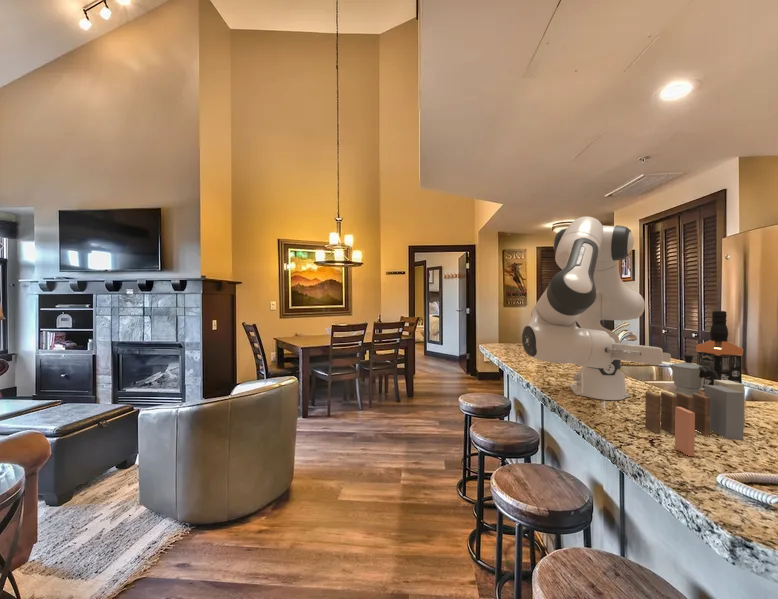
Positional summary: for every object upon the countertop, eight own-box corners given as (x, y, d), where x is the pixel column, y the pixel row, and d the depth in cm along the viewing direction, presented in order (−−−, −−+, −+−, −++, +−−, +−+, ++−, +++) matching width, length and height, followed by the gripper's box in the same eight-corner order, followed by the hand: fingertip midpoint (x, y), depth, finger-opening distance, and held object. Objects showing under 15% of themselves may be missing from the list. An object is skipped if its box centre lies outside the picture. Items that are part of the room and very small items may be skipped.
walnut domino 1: (655, 433, 100) (655, 396, 100) (645, 427, 105) (645, 391, 105) (660, 433, 100) (660, 396, 100) (649, 427, 105) (650, 391, 105)
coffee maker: (658, 406, 126) (658, 352, 126) (677, 404, 128) (677, 351, 128) (708, 420, 111) (708, 359, 111) (728, 417, 114) (728, 358, 114)
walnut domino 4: (704, 435, 99) (705, 397, 99) (692, 429, 104) (692, 393, 104) (709, 436, 99) (710, 398, 99) (696, 429, 104) (697, 393, 104)
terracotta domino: (688, 456, 86) (689, 412, 86) (674, 448, 91) (675, 406, 91) (694, 457, 85) (694, 413, 85) (680, 448, 90) (680, 406, 90)
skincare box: (745, 428, 105) (746, 384, 105) (727, 427, 106) (727, 383, 106) (730, 421, 111) (730, 379, 111) (712, 419, 112) (713, 379, 112)
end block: (704, 428, 105) (704, 385, 105) (720, 428, 104) (720, 385, 104) (726, 438, 97) (726, 392, 97) (743, 439, 96) (743, 392, 96)
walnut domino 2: (671, 434, 100) (672, 396, 100) (660, 427, 105) (661, 391, 105) (676, 434, 100) (677, 396, 100) (665, 428, 105) (665, 392, 105)
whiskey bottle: (746, 409, 124) (747, 311, 123) (716, 408, 124) (717, 311, 124) (719, 400, 134) (720, 310, 134) (691, 400, 134) (692, 310, 134)
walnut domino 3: (688, 435, 99) (688, 397, 99) (676, 428, 104) (676, 392, 104) (693, 435, 99) (693, 397, 99) (681, 428, 104) (681, 392, 104)
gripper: (622, 336, 78) (689, 344, 78) (574, 334, 98) (627, 340, 98) (620, 367, 78) (687, 375, 77) (572, 358, 98) (625, 364, 98)
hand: (653, 355), depth 88 cm, fingers open, 8 cm apart
